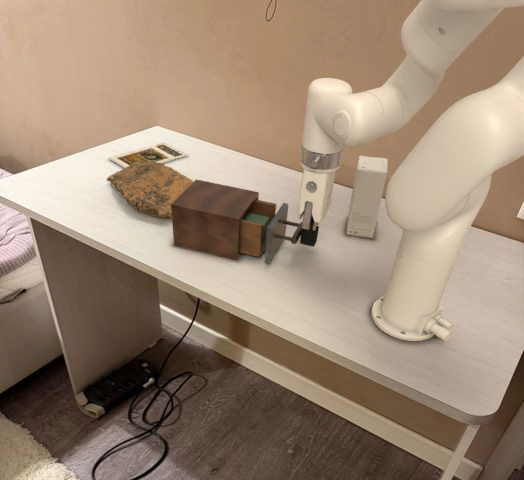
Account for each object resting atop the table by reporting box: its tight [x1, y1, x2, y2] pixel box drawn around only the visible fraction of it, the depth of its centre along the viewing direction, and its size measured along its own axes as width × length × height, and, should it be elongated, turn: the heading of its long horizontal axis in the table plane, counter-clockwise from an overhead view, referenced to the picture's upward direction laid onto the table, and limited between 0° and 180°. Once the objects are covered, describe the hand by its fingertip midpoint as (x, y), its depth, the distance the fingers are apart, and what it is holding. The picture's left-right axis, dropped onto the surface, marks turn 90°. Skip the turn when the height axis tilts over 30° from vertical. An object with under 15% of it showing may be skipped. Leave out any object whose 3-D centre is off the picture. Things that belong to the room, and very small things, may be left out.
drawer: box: [239, 199, 303, 263], centre depth 103 cm, size 18×11×8 cm, turn 72°
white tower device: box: [345, 155, 389, 239], centre depth 109 cm, size 8×7×16 cm
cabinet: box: [171, 179, 260, 261], centre depth 104 cm, size 15×13×10 cm
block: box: [244, 213, 269, 246], centre depth 103 cm, size 5×5×5 cm
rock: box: [106, 161, 194, 219], centre depth 118 cm, size 25×6×20 cm
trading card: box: [109, 142, 187, 169], centre depth 136 cm, size 11×1×18 cm
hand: (307, 243), depth 101 cm, fingers closed
